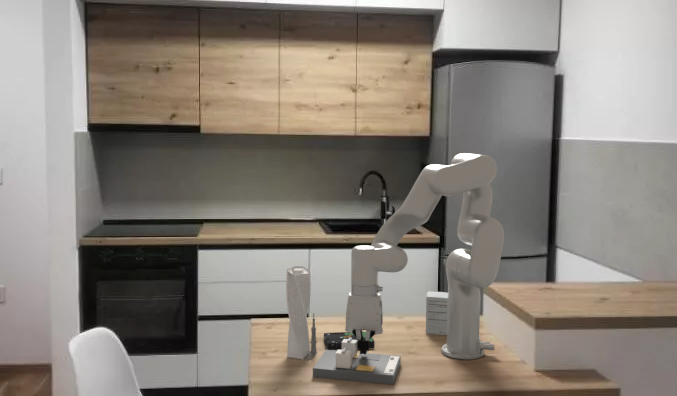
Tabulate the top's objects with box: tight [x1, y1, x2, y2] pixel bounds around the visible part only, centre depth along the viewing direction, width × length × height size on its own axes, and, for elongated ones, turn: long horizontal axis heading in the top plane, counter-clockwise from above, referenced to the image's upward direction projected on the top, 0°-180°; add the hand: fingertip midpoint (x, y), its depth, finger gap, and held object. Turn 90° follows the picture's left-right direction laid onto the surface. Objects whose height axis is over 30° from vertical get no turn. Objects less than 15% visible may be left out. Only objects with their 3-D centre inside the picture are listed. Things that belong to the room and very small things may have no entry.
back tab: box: [341, 337, 358, 357], centre depth 187 cm, size 4×3×5 cm
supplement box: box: [425, 290, 448, 336], centre depth 216 cm, size 7×7×13 cm
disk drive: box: [323, 330, 376, 351], centre depth 204 cm, size 10×3×15 cm
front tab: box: [336, 348, 352, 369], centre depth 178 cm, size 4×3×5 cm
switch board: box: [312, 349, 402, 385], centre depth 182 cm, size 22×15×3 cm
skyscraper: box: [285, 265, 319, 361], centre depth 192 cm, size 8×8×28 cm
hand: (363, 352), depth 186 cm, fingers closed
